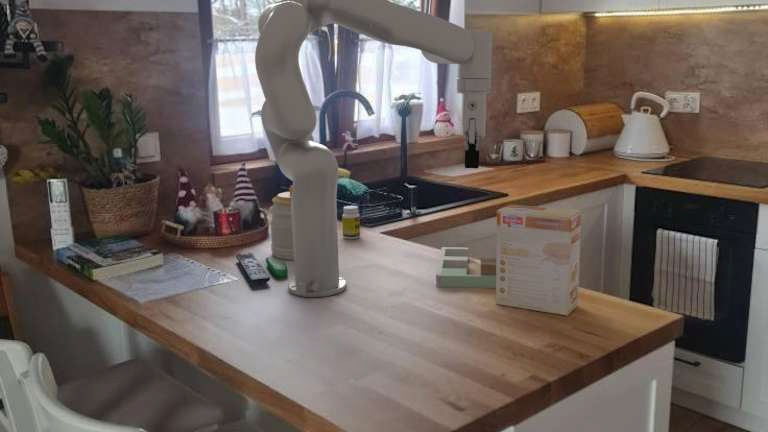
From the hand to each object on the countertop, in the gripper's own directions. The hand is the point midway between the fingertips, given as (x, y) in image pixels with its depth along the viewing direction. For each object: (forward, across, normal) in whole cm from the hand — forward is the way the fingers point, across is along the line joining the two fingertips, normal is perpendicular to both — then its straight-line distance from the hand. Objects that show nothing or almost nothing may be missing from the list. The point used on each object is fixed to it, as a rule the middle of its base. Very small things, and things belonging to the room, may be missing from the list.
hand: (471, 167), depth 174 cm
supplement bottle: (+24, +24, +33) cm, 47 cm away
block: (+24, -12, -5) cm, 27 cm away
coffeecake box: (+24, -26, -14) cm, 38 cm away
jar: (+24, +7, +44) cm, 50 cm away
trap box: (+23, -5, -2) cm, 24 cm away
